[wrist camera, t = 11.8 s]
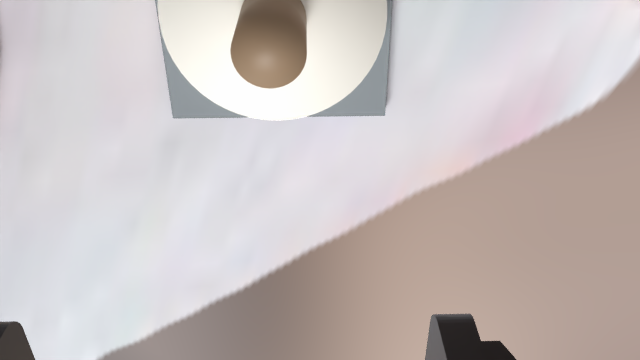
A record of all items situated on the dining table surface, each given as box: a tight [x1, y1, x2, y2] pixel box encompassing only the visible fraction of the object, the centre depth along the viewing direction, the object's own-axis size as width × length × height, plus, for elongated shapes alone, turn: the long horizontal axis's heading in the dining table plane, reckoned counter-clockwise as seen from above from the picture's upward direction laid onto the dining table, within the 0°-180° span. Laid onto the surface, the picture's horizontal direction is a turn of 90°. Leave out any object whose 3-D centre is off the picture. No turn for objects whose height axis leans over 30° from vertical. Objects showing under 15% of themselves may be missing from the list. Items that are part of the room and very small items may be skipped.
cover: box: [157, 0, 387, 120], centre depth 28 cm, size 11×11×6 cm
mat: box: [155, 0, 392, 118], centre depth 30 cm, size 12×12×1 cm
